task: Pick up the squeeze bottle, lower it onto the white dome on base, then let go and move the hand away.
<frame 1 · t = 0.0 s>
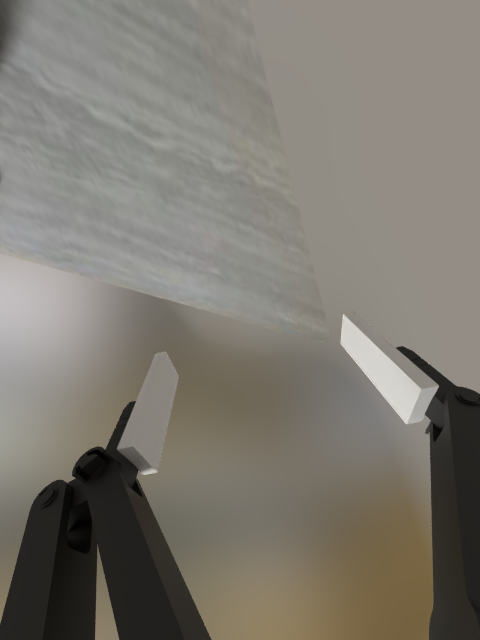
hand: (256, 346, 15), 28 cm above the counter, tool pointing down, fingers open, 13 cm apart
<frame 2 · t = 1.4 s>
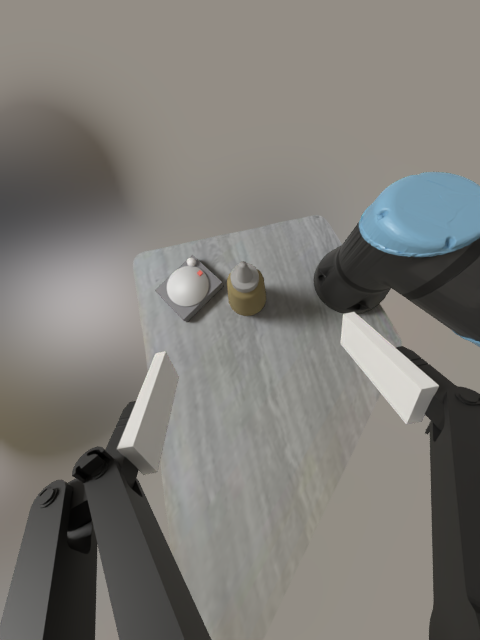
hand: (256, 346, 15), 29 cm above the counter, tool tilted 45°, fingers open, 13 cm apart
squeeze bottle: (248, 302, 47), on the counter
white dome on base: (191, 290, 48), on the counter
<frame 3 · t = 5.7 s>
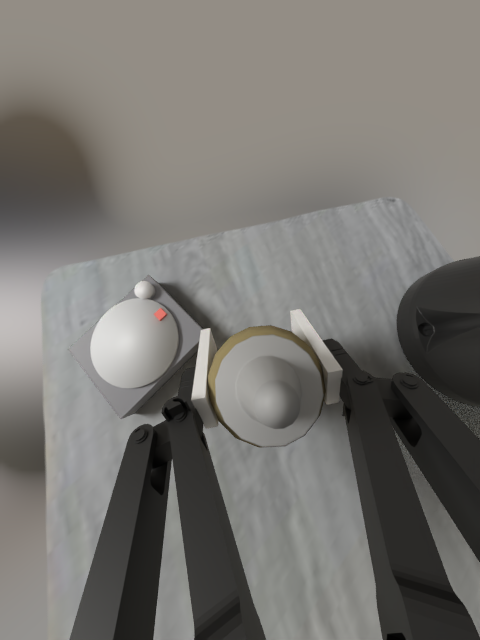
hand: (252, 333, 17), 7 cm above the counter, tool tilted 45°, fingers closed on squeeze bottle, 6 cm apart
squeeze bottle: (260, 373, 23), on the counter, touching gripper
white dome on base: (147, 343, 24), on the counter
when the fingers open (11 cm above the counter, at t = 11.1 s): squeeze bottle drops 1 cm, resting on white dome on base.
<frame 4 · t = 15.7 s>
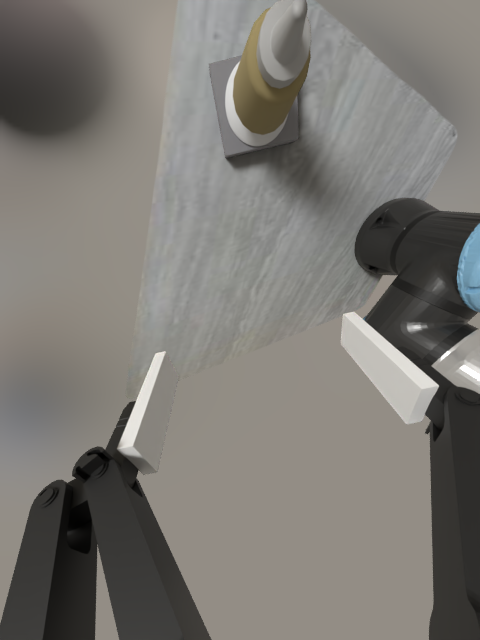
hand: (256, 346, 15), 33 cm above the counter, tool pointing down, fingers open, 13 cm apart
squeeze bottle: (258, 105, 30), point 3 cm above the counter, touching white dome on base
white dome on base: (255, 110, 32), on the counter
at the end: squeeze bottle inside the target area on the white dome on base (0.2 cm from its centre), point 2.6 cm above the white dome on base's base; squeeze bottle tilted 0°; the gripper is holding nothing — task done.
